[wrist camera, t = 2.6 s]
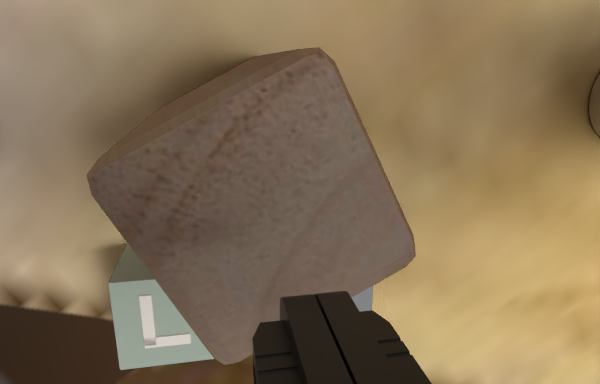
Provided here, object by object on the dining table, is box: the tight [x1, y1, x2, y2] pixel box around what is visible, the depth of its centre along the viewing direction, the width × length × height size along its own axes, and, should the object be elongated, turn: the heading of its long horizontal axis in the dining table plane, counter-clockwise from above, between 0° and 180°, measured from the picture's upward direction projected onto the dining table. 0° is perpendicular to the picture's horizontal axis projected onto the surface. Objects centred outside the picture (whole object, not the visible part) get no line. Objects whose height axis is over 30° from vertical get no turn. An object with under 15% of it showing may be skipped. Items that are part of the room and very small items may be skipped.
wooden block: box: [87, 48, 416, 365], centre depth 25 cm, size 10×10×20 cm
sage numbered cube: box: [108, 243, 215, 370], centre depth 34 cm, size 7×7×7 cm
